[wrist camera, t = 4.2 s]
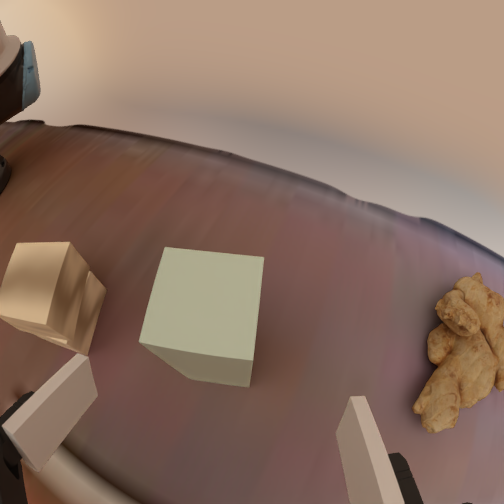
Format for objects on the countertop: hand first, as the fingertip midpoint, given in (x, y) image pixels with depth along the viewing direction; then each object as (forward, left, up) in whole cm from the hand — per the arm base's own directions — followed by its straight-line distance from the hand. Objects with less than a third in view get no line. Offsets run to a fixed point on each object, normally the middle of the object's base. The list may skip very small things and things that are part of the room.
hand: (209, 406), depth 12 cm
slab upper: (-5, -17, -6) cm, 18 cm away
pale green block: (-5, -1, -10) cm, 11 cm away
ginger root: (-6, +23, -10) cm, 26 cm away
